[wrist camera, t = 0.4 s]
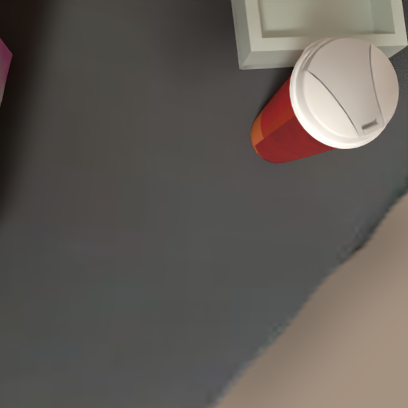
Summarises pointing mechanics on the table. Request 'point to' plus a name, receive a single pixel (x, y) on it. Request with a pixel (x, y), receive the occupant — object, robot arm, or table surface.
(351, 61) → the paper cup
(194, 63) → the table surface
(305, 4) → the tray
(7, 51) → the gum box
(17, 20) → the table surface
